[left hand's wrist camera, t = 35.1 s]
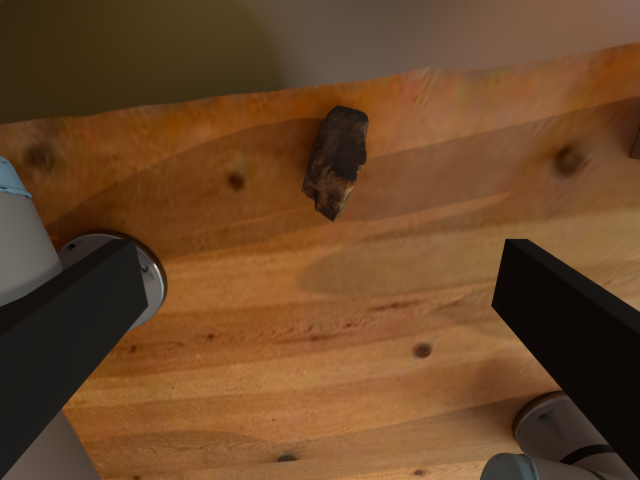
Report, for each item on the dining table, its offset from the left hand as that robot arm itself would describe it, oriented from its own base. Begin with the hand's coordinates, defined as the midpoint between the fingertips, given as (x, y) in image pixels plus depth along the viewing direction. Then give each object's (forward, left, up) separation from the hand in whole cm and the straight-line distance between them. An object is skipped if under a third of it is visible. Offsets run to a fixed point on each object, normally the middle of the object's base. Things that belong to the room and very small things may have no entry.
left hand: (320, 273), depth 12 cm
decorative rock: (+2, 0, -34) cm, 34 cm away
